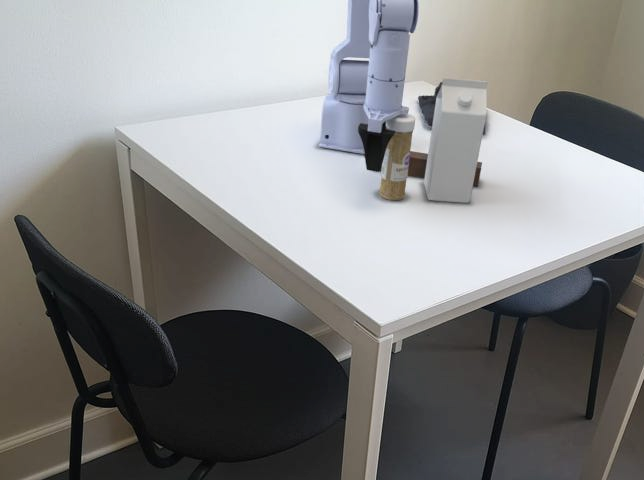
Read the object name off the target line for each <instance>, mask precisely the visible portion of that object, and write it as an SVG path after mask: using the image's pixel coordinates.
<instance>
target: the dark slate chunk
mask: <svg viewBox="0 0 644 480" xmlns="http://www.w3.org/2000/svg"><path fill="white" fill-rule="evenodd" d="M441 86H442V81H440V82H439V84H438V86H436V87H435V88H434V94H433V95H431V94H430V95H424V94H423V95H418V97H417V100H418V105H419V108H420V112H421V113H422V115H423V119H424V121H425V122H426V124H427V125H428V126H429V127H432V125H433V118H434V111H435V105H436V98H437V95H438V93H439V90H440V88H441ZM485 135H486V124H485V125H484V130H483V135H482V136H485Z"/></svg>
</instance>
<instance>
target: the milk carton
mask: <svg viewBox="0 0 644 480" xmlns="http://www.w3.org/2000/svg"><path fill="white" fill-rule="evenodd" d="M441 82H442V86H441V88H440V90H439V93H438V95H437V98H436V105H435V111H434V118H433V125H432V126H431V132H430V138H429V145H428V153H427V154H428V158H427V165H426V172H425V178H423V179H424V180H423V185H424V188H425V189H424V190H425V192H426V196H427V197H426V198H427V200H428V201H437V202H452V203H463V204H464V203H465V204H469V203H470V202H471V197H472V191H473V188H474V187H473V182H474V177H475V172H476V166H477V162H479V156H480V151H481V145H482V141H483V136H484V135H483V130H484V125H485V126H486V119H487V115H488V113H487V112H488V111H487V110H488V108H487V104H488V103H487V101H488V99H487V90H488V89H487V88H488V84H489V82H488V81H484V80H473V79H459V78H450V77H448V78H447V77H443V78H442V81H441Z"/></svg>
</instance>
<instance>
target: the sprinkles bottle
mask: <svg viewBox="0 0 644 480" xmlns="http://www.w3.org/2000/svg"><path fill="white" fill-rule="evenodd" d="M415 126H416V117H415V116H414V115H413V114H411V113H408V114H407V115H402V114H400V115H398V116H396V117H394V118H392V119H390V120H388V121H386V129H387V130H393V131H395V133H394V135H393V137H392V138H391V140H390V141H389V143H388V146H387V149H386V152H385V156H384V159H383V163H382V170H381V171H380V183H379V184H380V185H379V190H378V195H379V196H380V197H381V198H383V199H385V200H388V201H400V200H403V199H404V198H405V196H406V187H407V179H408V176H407V175H408V167H409V159H410V151H411V148H412V139H413V133H414V130H415Z"/></svg>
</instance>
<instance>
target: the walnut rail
mask: <svg viewBox="0 0 644 480" xmlns="http://www.w3.org/2000/svg"><path fill="white" fill-rule="evenodd" d="M427 158H428V153H426V152H420V151H414V150H410V159H409V167H408V175H407V177H412V178H417V179H424V178H425V172H426V165H427ZM482 167H483V162H482V161H477V166H476V172H475V177H474V182H473V187H472V188H478V187H479V182H480V177H481V171H482ZM381 170H382V166H381V169H380V171H379V172H381Z"/></svg>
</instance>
